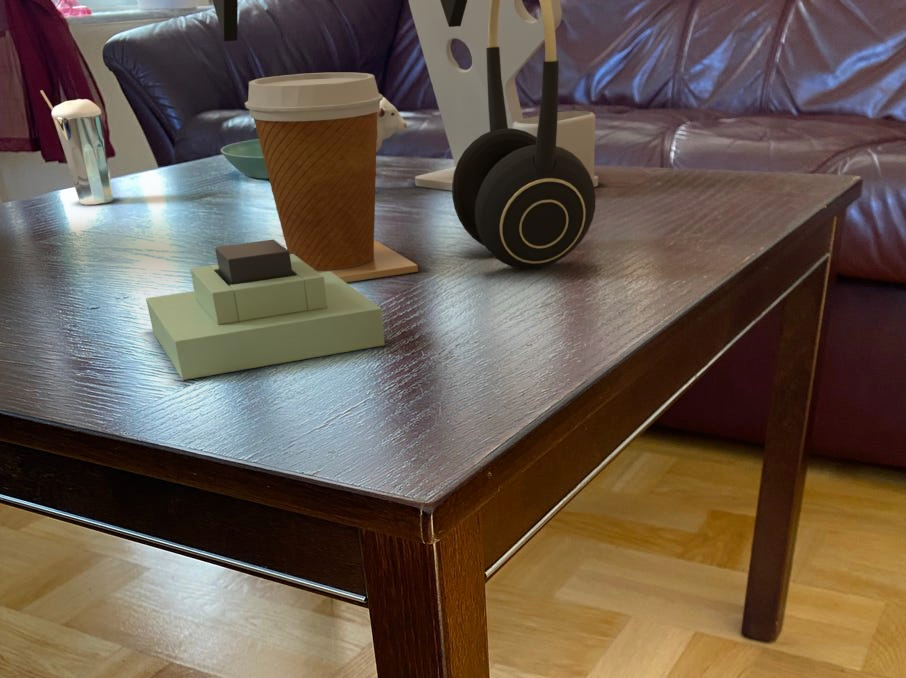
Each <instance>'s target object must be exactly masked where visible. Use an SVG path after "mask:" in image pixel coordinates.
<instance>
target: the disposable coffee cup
mask: <svg viewBox="0 0 906 678" xmlns="http://www.w3.org/2000/svg"><path fill="white" fill-rule="evenodd" d="M247 95H248V97H247V101H246V102H245V101H244V106H245V108H246V109H248V110H249V115H250V118H251V119H253V122H254V125H255V129H256V134H257V138H258V139H259V142H260V146H261V149H262V154H263V157H264V162H265V165H266V168H267V173H268V177H269V179H268V181H269V185H270V188H271V193H272V196H273V200H274V203H275V209H276V212H277V216H278V219H279V223H280V224H279V225H280V228H281V231H282V235H283V236H282V237H283V239H284V243H285V244H284V245H285V247H286V249H287V250H288V251H289V252H290V254H294V255H296V256H297V257H298V258H300V259H301V260H302V261H303V262H305V263H306V264H307V265H309V266H310V267H311V268H313V269H314V270H331V269H343V268H348V267H353V266H358V265H361V264H364V263H366V262H368V261H370V260H372V259H373V258H374V240H375V222H376V221H375V219H376V217H375V216H376V215H375V214H376V177H377V153H376V146H377V111H379V110H380V101H381V100H383V97H384V96H383V94H381V93H380V92H379V89H378V84H377V81H376V77H375V75H374V74H372V73H367V72H339V71H338V72H314V73H313V72H311V73H297V74H296V73H295V74H285V75H276V76H275V75H274V76H269V77H267V76H266V77H261V78H256V79H253V80H250V81H248V94H247Z"/></svg>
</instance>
